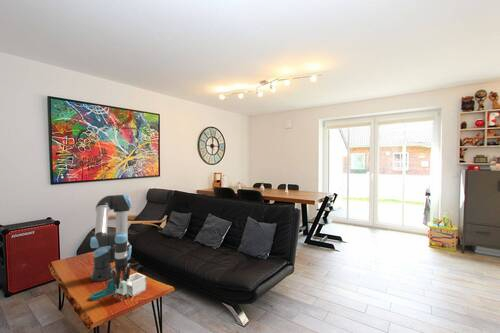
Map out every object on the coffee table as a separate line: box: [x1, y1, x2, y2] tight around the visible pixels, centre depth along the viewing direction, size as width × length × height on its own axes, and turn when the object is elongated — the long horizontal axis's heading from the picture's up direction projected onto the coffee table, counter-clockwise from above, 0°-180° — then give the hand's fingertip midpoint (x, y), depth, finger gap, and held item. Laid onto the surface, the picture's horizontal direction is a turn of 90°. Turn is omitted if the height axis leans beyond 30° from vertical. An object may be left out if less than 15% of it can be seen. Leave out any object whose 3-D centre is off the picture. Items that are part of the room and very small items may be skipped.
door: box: [116, 278, 127, 296], centre depth 165 cm, size 9×4×8 cm, turn 57°
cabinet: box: [126, 272, 147, 297], centre depth 174 cm, size 11×10×10 cm
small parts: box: [113, 284, 130, 302], centre depth 166 cm, size 11×5×10 cm, turn 57°
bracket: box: [89, 278, 116, 301], centre depth 170 cm, size 18×7×8 cm, turn 142°
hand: (121, 291), depth 165 cm, fingers closed on door, 3 cm apart
